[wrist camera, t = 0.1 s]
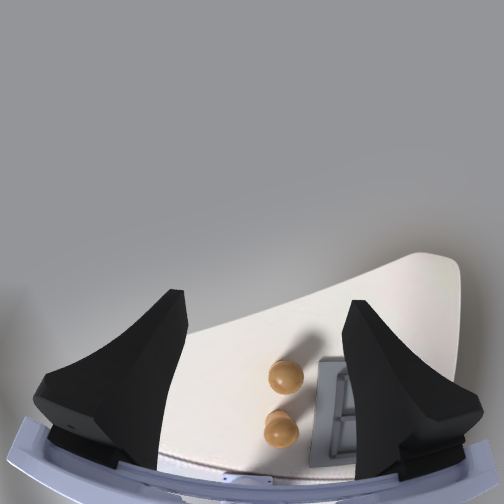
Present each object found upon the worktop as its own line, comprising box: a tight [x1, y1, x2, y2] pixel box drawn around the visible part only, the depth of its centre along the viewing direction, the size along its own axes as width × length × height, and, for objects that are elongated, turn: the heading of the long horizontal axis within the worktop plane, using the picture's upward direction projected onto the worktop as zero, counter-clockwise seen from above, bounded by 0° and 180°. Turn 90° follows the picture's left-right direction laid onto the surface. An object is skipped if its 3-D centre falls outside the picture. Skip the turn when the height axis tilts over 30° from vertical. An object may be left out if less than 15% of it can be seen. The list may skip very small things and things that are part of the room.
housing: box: [309, 361, 356, 468], centre depth 37 cm, size 18×13×2 cm
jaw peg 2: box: [264, 411, 299, 448], centre depth 35 cm, size 5×5×6 cm
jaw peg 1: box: [269, 361, 304, 395], centre depth 38 cm, size 5×5×6 cm
